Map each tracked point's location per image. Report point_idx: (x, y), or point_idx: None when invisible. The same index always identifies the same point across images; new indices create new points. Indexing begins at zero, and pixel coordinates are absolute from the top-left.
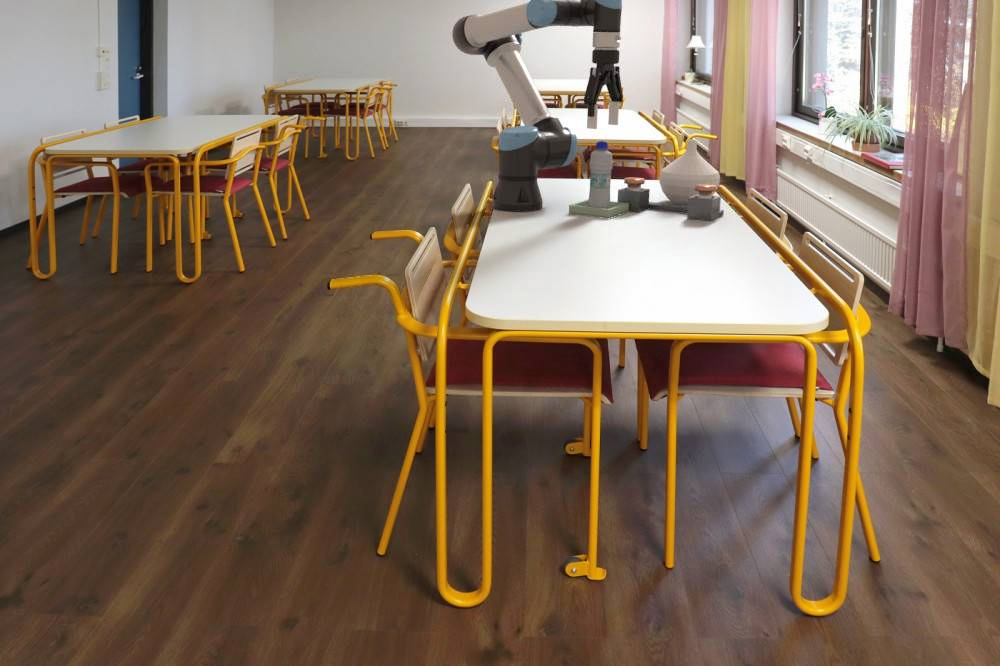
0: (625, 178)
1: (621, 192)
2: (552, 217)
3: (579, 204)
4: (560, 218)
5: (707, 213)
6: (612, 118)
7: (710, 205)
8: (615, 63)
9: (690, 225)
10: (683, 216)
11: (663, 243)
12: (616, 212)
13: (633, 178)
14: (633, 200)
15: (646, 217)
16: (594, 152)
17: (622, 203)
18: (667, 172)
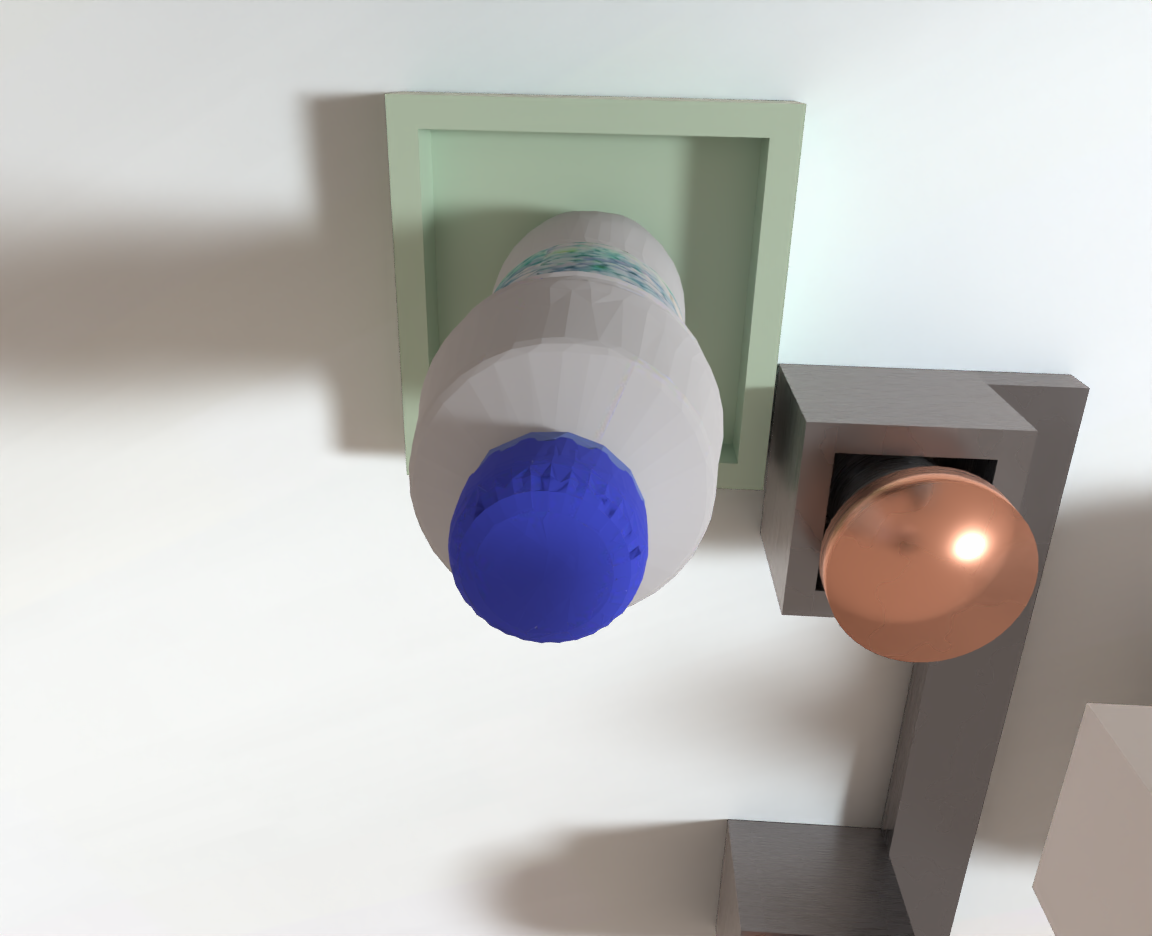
0: (916, 497)
1: (798, 447)
2: (177, 47)
3: (533, 130)
4: (189, 129)
5: None
6: (1142, 926)
7: None
8: None
9: (534, 878)
10: (782, 788)
11: (35, 888)
12: None
13: (955, 559)
14: (776, 529)
15: (620, 627)
16: (442, 432)
17: (739, 445)
18: None
